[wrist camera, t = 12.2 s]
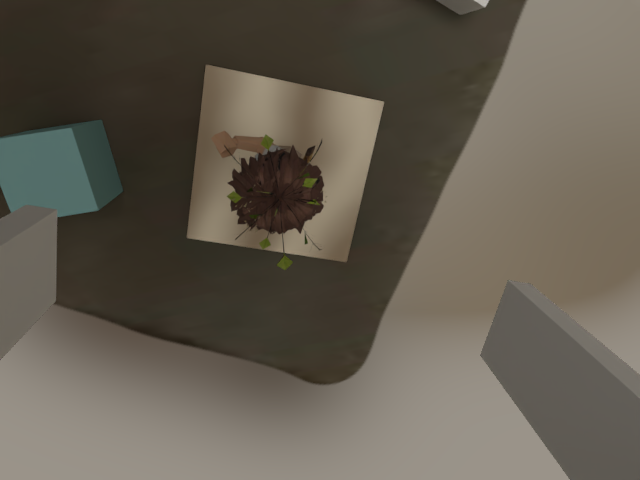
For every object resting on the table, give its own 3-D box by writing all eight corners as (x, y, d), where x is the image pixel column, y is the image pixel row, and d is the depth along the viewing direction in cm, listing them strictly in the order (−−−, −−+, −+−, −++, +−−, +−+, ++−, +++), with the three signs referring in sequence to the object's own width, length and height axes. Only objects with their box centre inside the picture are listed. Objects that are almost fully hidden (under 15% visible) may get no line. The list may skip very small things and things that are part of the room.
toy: (230, 127, 31) (182, 137, 17) (311, 121, 31) (331, 126, 17) (241, 217, 33) (205, 295, 18) (317, 210, 33) (340, 283, 19)
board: (188, 234, 34) (186, 237, 33) (207, 64, 30) (205, 64, 29) (345, 258, 36) (346, 262, 35) (381, 101, 32) (384, 101, 31)
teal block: (52, 202, 32) (15, 223, 28) (27, 130, 31) (-18, 141, 26) (123, 190, 33) (98, 210, 28) (102, 119, 31) (71, 127, 26)
